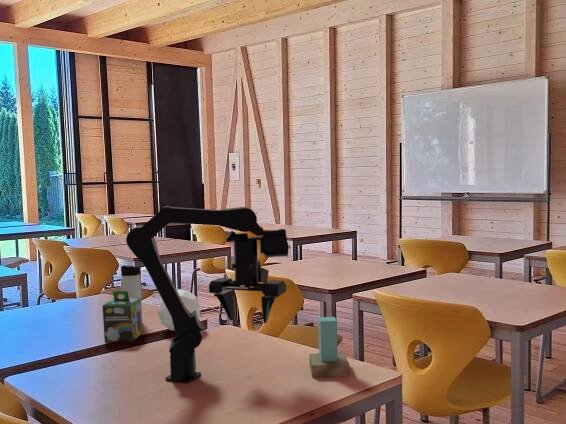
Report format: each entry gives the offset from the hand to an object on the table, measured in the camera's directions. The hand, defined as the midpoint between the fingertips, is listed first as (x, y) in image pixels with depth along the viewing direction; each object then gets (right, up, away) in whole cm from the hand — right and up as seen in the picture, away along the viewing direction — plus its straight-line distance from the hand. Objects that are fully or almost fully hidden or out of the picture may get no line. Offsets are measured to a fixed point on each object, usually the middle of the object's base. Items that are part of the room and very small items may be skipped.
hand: (248, 321), depth 145 cm
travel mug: (-42, -11, +53) cm, 68 cm away
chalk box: (-40, -12, +36) cm, 55 cm away
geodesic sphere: (-24, -11, +43) cm, 51 cm away
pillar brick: (+20, -10, +1) cm, 22 cm away
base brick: (+20, -13, +1) cm, 24 cm away
